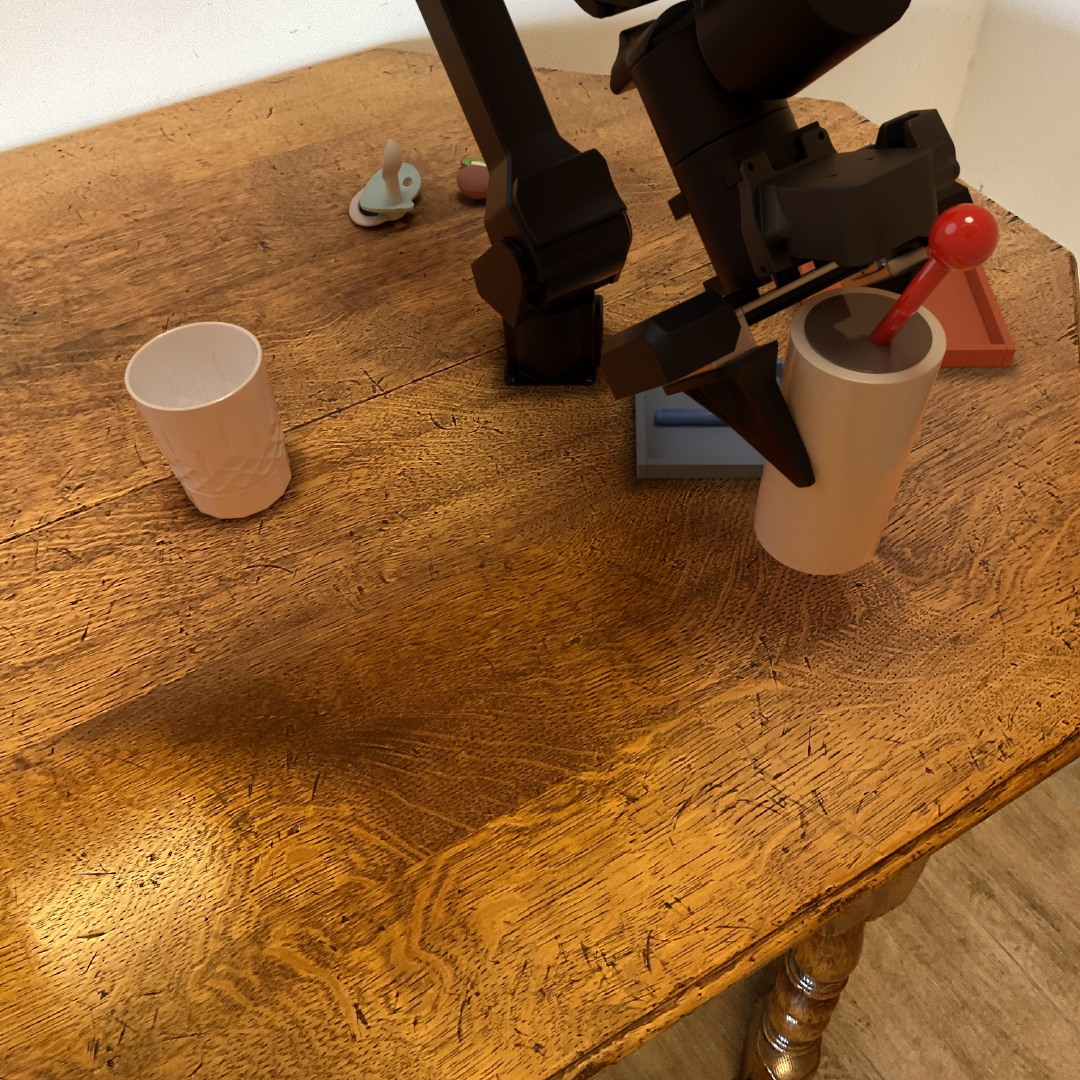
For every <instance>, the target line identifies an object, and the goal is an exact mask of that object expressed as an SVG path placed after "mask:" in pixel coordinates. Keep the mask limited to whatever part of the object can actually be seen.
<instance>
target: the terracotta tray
mask: <svg viewBox="0 0 1080 1080" xmlns="http://www.w3.org/2000/svg"><path fill="white" fill-rule="evenodd" d="M924 249H925V251H926V254H927V256H928V258H930V257H931V256H932V255H931V253H930V250H929V246H928V247H925V248H924ZM813 268H815V266H814V263H813V261H810V262H808V263H806V264H804V265H801V266H799V267H798V269H799V272H800V274H803V273H805V272H807V271H809V270H811V269H813ZM984 269H985V268H984V267H983V264H982V265H980V266H978V267H976V268H974V269H971V270H967V271H952V270H951V271H950V272H949V273H948V274H947V275H946V277H945V278H944V279H943V280H942V281H941V283H940V284H939V285H938V286H937V287H936V289H935V290H934V291H933V292H932V293H931V295H930V296H929V297H928V298H927V299H926V301H925V302H924V303H923V304H922V306H923V307H925V308H926V309H927V310H929V311H930V312H931V313H932V314H933V315H934V316H935V317H936V319H937V320H938V321H939V322H940V324H941V326H942V327H943V330H944V332H945V336H946V350H945V354H944V357H943V360H942V363H941V366H940V368H1009V367H1010V366H1011V363H1012V361H1013V358H1014V356H1015V353H1016V351H1017V348H1016V345H1015V343H1014V340H1013V338H1012V335H1011V333H1010V331H1009V328H1008V326H1007V323H1006V321H1005V318H1004V316H1003V314H1002V311H1001V308H1000V306H999V303H998V301H997V299H996V295H995V294H994V291H993V289H992V287H991V284H990V282H989V279H988V277H987V274H986V272H985V270H984ZM837 288H843V287H842V285H841V282H838V283H836V284H834V285H832V286H830V287H828V288H826V289H824V290H822V291H820V292H818V293H816V294H814V295H812V296H810V297H808V298H806V299H804V300H802V301H800V303H801V304H802V303H804V302H805V301H806V300H807V299H809V298H811V297H813V296H815V295H817V294H819V293H822V292H825V291H828V290H832V289H837ZM801 304H800V305H801Z"/></svg>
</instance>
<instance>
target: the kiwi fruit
mask: <svg viewBox="0 0 1080 1080" xmlns="http://www.w3.org/2000/svg"><path fill="white" fill-rule="evenodd" d="M459 163H460V167H461V169H460V170H459V171H458V173H457V175H456V184H457V188H458V189H459V190H460V192H461V193H462V194H463V195H465V196H466V197H468V198H472V199H474V200H483V199H487V190H488V181H489V172H488V169H487V166H486V164H485V161H484V159H483V158H482V159H481V158H476V157H462V158H461V159H460V160H459Z"/></svg>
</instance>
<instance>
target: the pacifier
mask: <svg viewBox="0 0 1080 1080" xmlns="http://www.w3.org/2000/svg"><path fill="white" fill-rule="evenodd" d="M407 181H411V184H409V185H405V183H406V182H407ZM421 187H422V178H421V175H420V172H419V171H418V170H417V168H416V167H415V166H414V165H412V164H411V163H408V162H403V152H402V148H401V146H400V145H399V143H398V142H397V140H395V139H392V138H389V139H388V140H387V141H386V144H385V147H384V152H383V157H382V164H381V168H380V169H379V170H378V171H377V172H375V173H374V174H373V175H372V176H371V178H370V179H369V180H368V182H367V183H366V185H365V187H363V188H362V189H361V190H359V191H358V192H357V193H356V194H355V195H354V196H353V197H352V199H351V201H350V203H349V207H348V215H349V217H350V219H351V220H352V222H354V223H355V224H356V225H359V226H361V227H375V226H378V225H381V224H384V223H385V222H391V221H397V220H399V219H402V218H403V217H404V216H405V215H406V213H408V212H412V211H413V210H414V209H415V203H414V200H415V199H416V198H417V196H418V195H419V194H420V192H421ZM360 209H362V210H364V211H367V212H369V213H370V212H371V213H377V214H378V215H373V216H369V215H364V214H363V213H361V212H360Z"/></svg>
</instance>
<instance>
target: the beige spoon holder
mask: <svg viewBox="0 0 1080 1080" xmlns="http://www.w3.org/2000/svg"><path fill="white" fill-rule="evenodd" d="M999 239H1000V229H999V225H998V221H997V219H996V217H995V216H994V215H993V214H992V212H991V211H990V210H988V209H987V208H986V207H984V206H982V205H979V204H977V203H974V204H971V203H965V204H958V205H955V206H953V207H950V208H949V209H947V210H945V211H944V212H943V213H941V214H940V215H939V216H938V218H937V219H936V220H935V221H934V223H933V225H932V227H931V229H930V233H929V238H928V244H929V250H930V253H931V255H932V256H931V258H930V259H929V260H928V261H927V263H926V264H925V265H924V267H923V268H922V269H921V270H920V272H919V273H918V274H917V275H916V277H915V278H914V279H913V280H912V282H911V283H910V284H909V286H908V287H907V288H906V289H905V291H904V292H903V293H902V294H901V295H900V294H897V293H894V292H890V291H887V290H882V289H877V288H869V287H845V288H837V289H832V290H828V291H825V292H822V293H819V294H817V295H815V296H813V297H811V298H809V299H807V300H806V301H805V302H804V303H802V304H800V305H799V306H798V307H797V308H796V309H795V311H794V313H793V314H792V315H791V316H792V317H791V319H790V323H789V327H788V333H787V338H786V344H785V348H784V354H783V358H784V359H783V364H782V370H781V375H780V380H779V388H780V390H781V392H782V395H783V397H784V399H785V402H786V404H787V406H788V409H789V411H790V413H791V416H792V418H793V420H794V423H795V425H796V427H797V430H798V432H799V434H800V437H801V439H802V441H803V443H804V446H805V448H806V451H807V453H808V456H809V459H810V462H811V466H812V469H813V473H814V476H815V480H816V482H815V484H814V485H812V486H810V487H805V488H798V487H796V486H795V485H794V484H793V483H792V482H791V481H789V480H788V479H787V478H786V477H785V476H784V475H783V474H782V473H781V472H780V471H778V470H777V469H776V468H775V467H774V466H773V465H772V464H771V463H770V462H769V461H767V460H766V459H765V461H764V466H763V472H762V477H761V478H760V482H759V483H760V484H759V488H758V493H757V499H756V504H755V510H754V514H753V515H754V516H753V529H754V532H755V535H756V538H757V540H758V542H759V544H760V545H761V546H762V547H763V549H764V550H765V551H766V552H767V554H768V555H770V556H771V557H772V558H774V560H776V561H777V562H779V563H781V564H782V565H784V566H786V567H788V568H790V569H793V570H795V571H797V572H801V573H804V574H805V573H806V574H810V575H815V576H835V575H841V574H845V573H849V572H852V571H854V570H856V569H859V568H860V567H862V566H863V565H865V564H866V563H867V562H869V561H870V560H871V559H872V557H874V556H875V553H876V552H877V550H878V548H879V546H880V543H881V540H882V537H883V534H884V531H885V528H886V526H887V522H888V520H889V517H890V514H891V511H892V507H893V505H894V502H895V499H896V497H897V494H898V491H899V488H900V484H901V481H902V479H903V476H904V473H905V470H906V467H907V465H908V462H909V458H910V456H911V453H912V450H913V447H914V443H915V441H916V438H917V435H918V432H919V429H920V428H921V427H920V426H921V424H922V421H923V418H924V414H925V412H926V409H927V406H928V403H929V400H930V397H931V395H932V392H933V389H934V386H935V383H936V380H937V378H938V374H939V372H940V368H941V367H940V366H941V363H942V360H943V357H944V354H945V350H946V336H945V332H944V330H943V327H942V326H941V324H940V322H939V321H938V320H937V319H936V317H935V316H934V315H933V314H932V313H931V312H930V311H929V310H927V309H926V308H925V307H923V306H922V304H923V303H924V302H925V301H926V299H927V298H928V297H929V296H930V295H931V293H932V292H933V291H934V290H935V289H936V287H937V286H938V285H939V284H940V283H941V281H942V280H943V279H944V278H945V277H946V275H947V274H948V273H949V272H950V271H951V270H952V271H967V270H971V269H974V268H976V267H978V266H980V265H982V266H983V265H984V263H986V262H987V261H988V260H989V259H990V257H991V256H992V255H993V253H994V252H995V251H996V248H997V246H998V243H999Z"/></svg>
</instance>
